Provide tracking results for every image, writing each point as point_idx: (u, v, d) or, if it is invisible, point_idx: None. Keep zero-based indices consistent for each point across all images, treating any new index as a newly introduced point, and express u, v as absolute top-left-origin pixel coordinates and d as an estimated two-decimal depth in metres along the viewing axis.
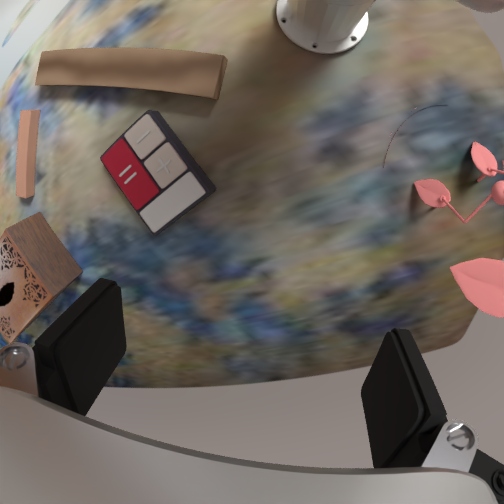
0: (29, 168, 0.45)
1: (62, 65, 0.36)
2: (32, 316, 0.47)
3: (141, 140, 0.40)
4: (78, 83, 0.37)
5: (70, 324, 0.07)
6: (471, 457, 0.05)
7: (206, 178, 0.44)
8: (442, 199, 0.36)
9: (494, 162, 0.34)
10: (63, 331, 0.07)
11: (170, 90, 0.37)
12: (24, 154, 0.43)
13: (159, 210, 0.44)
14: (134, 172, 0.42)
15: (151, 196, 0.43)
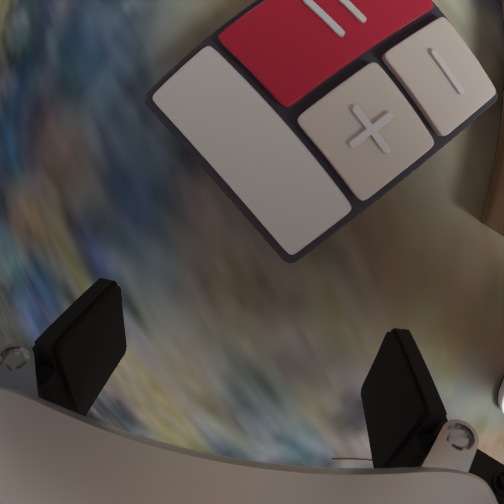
0: None
1: None
2: None
3: (437, 64, 0.11)
4: None
5: (70, 324, 0.07)
6: (471, 457, 0.05)
7: None
8: None
9: None
10: (63, 331, 0.07)
11: None
12: None
13: (223, 110, 0.13)
14: (343, 30, 0.11)
15: (268, 83, 0.12)
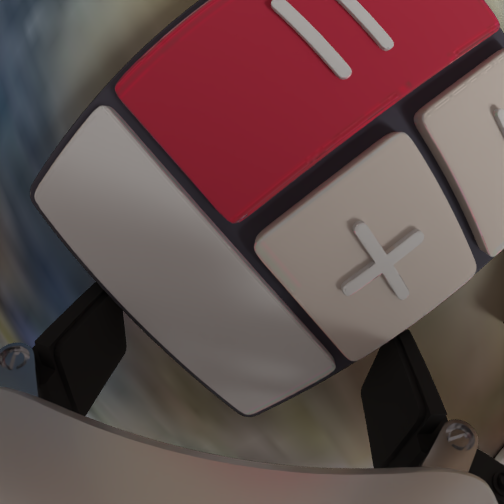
0: None
1: None
2: None
3: (503, 136, 0.06)
4: None
5: (70, 324, 0.07)
6: (471, 457, 0.05)
7: None
8: None
9: None
10: (63, 331, 0.07)
11: None
12: None
13: (131, 223, 0.08)
14: (349, 65, 0.06)
15: (200, 179, 0.07)
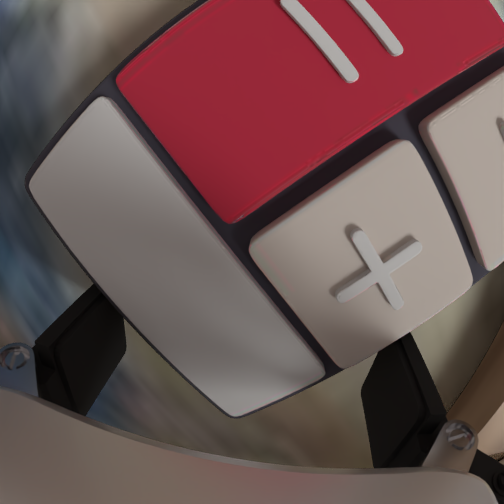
0: None
1: None
2: None
3: None
4: None
5: (70, 324, 0.07)
6: (471, 457, 0.05)
7: None
8: None
9: None
10: (63, 331, 0.07)
11: None
12: None
13: (125, 218, 0.08)
14: (356, 69, 0.06)
15: (197, 177, 0.07)
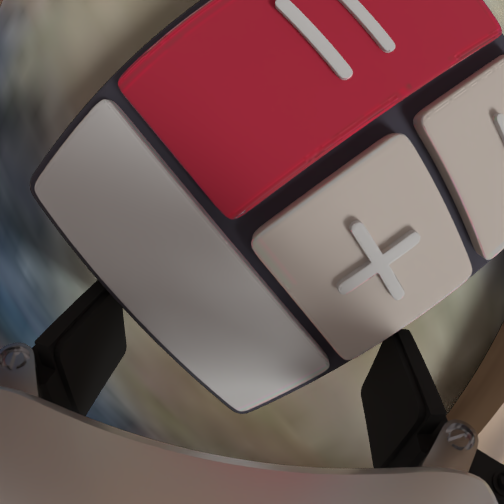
0: None
1: None
2: None
3: (502, 140, 0.06)
4: None
5: (70, 324, 0.07)
6: (471, 457, 0.05)
7: None
8: None
9: None
10: (63, 331, 0.07)
11: None
12: None
13: (129, 216, 0.08)
14: (350, 66, 0.06)
15: (199, 175, 0.07)
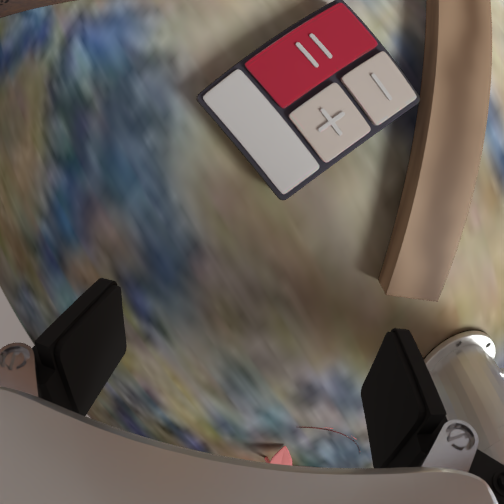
0: None
1: (469, 30, 0.17)
2: None
3: (375, 82, 0.21)
4: (439, 58, 0.19)
5: (70, 324, 0.07)
6: (471, 457, 0.05)
7: None
8: None
9: None
10: (63, 331, 0.07)
11: (406, 234, 0.25)
12: None
13: (246, 108, 0.22)
14: (318, 63, 0.20)
15: (273, 94, 0.22)
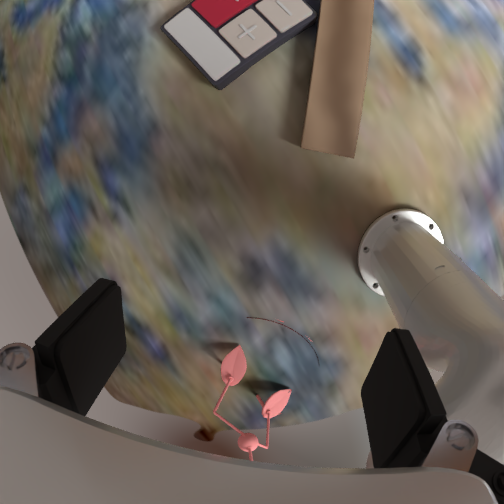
0: None
1: None
2: None
3: (279, 5, 0.27)
4: None
5: (70, 324, 0.07)
6: (471, 457, 0.05)
7: (232, 79, 0.33)
8: (229, 379, 0.44)
9: (276, 413, 0.47)
10: (63, 331, 0.07)
11: (310, 96, 0.31)
12: None
13: (191, 29, 0.29)
14: None
15: (208, 19, 0.28)
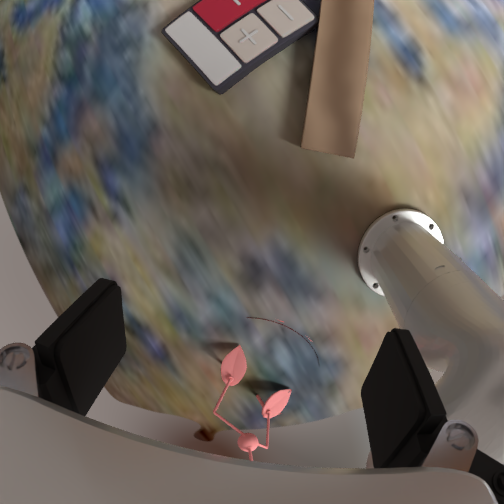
0: None
1: None
2: None
3: (281, 10, 0.27)
4: None
5: (70, 324, 0.07)
6: (471, 457, 0.05)
7: (233, 83, 0.33)
8: (229, 379, 0.44)
9: (276, 413, 0.47)
10: (63, 331, 0.07)
11: (310, 96, 0.31)
12: None
13: (192, 33, 0.29)
14: (240, 2, 0.27)
15: (209, 23, 0.28)
